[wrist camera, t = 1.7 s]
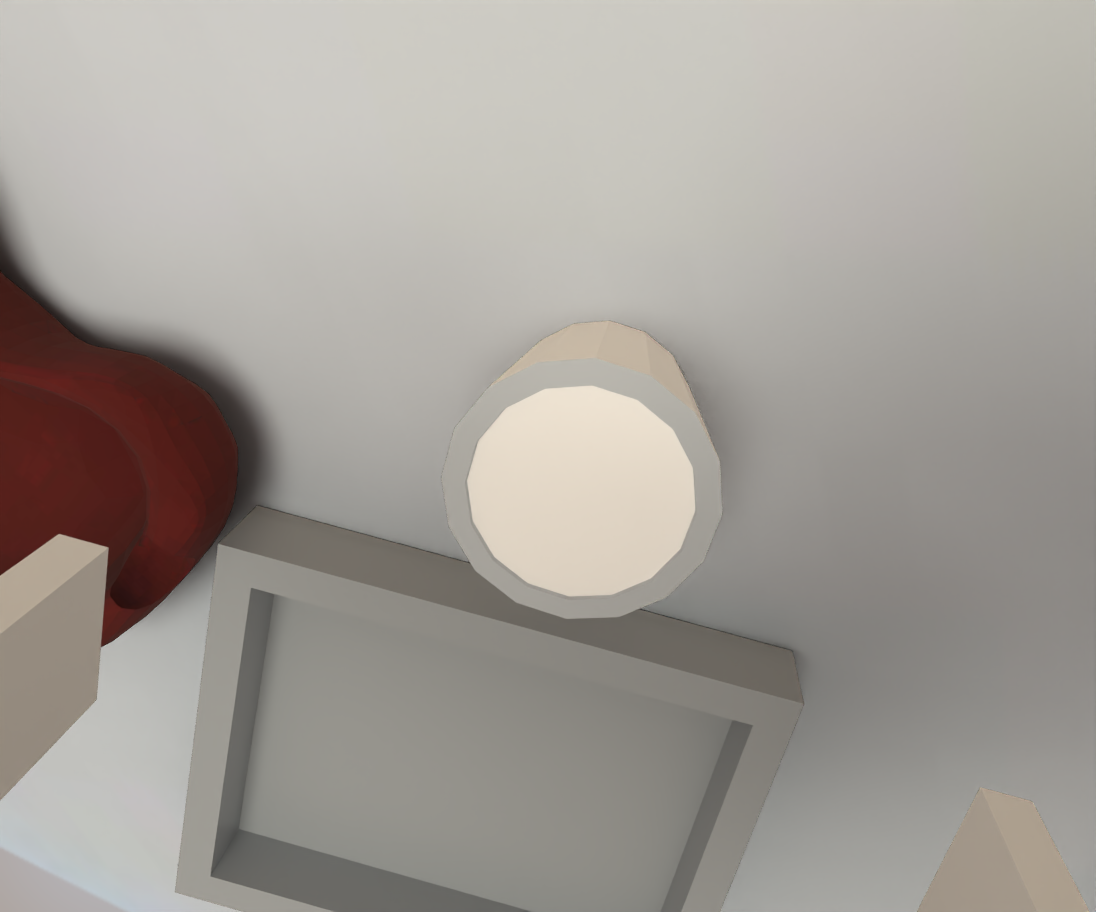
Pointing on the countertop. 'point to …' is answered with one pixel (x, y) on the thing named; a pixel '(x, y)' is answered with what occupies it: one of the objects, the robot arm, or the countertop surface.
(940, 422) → the countertop surface
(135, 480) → the ashtray
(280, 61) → the countertop surface
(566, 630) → the tray
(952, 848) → the robot arm
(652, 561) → the white cup
